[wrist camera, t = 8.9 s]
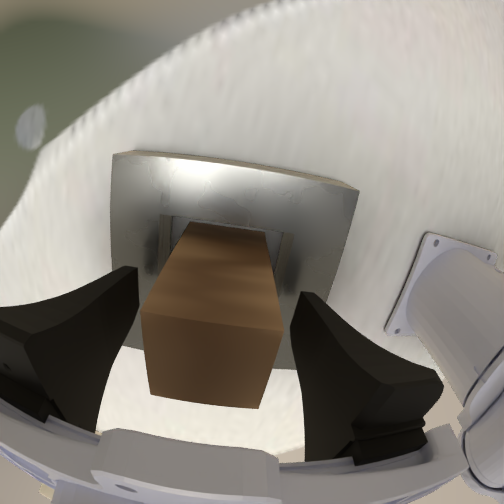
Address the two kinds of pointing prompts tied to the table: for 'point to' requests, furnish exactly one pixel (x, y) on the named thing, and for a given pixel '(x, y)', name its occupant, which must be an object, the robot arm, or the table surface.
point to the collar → (229, 221)
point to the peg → (213, 319)
